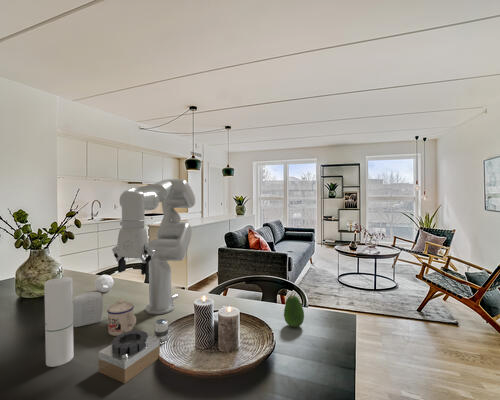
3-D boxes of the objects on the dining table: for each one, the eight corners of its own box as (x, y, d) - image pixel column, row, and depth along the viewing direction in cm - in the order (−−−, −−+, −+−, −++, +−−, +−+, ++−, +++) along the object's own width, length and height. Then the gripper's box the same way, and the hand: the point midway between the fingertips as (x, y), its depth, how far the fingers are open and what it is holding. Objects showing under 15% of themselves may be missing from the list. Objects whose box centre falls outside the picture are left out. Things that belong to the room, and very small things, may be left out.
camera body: (135, 348, 91) (134, 325, 91) (159, 357, 86) (159, 333, 86) (98, 371, 79) (98, 345, 79) (124, 383, 75) (124, 355, 74)
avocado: (285, 320, 112) (285, 291, 111) (305, 323, 109) (305, 293, 109) (282, 329, 104) (282, 298, 104) (302, 333, 102) (302, 301, 101)
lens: (161, 336, 99) (161, 317, 99) (171, 339, 97) (170, 319, 97) (151, 342, 95) (151, 322, 95) (161, 346, 93) (161, 325, 93)
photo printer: (102, 317, 114) (102, 288, 113) (103, 322, 110) (103, 291, 110) (73, 324, 108) (72, 293, 108) (73, 329, 104) (72, 297, 104)
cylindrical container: (69, 350, 90) (67, 275, 90) (77, 358, 86) (75, 280, 85) (42, 360, 85) (41, 281, 84) (49, 369, 80) (48, 286, 80)
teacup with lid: (102, 333, 101) (101, 302, 101) (122, 322, 109) (122, 294, 109) (125, 340, 96) (124, 308, 96) (144, 328, 104) (144, 299, 104)
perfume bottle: (91, 286, 145) (92, 296, 135) (97, 270, 146) (98, 279, 136) (109, 288, 150) (111, 298, 140) (114, 272, 150) (117, 281, 140)
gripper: (105, 225, 96) (105, 273, 96) (147, 227, 92) (147, 277, 92) (120, 223, 103) (120, 268, 103) (160, 224, 99) (160, 271, 99)
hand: (133, 272), depth 98 cm, fingers open, 9 cm apart
